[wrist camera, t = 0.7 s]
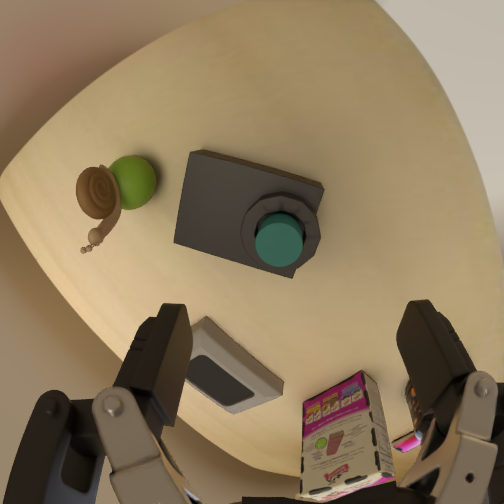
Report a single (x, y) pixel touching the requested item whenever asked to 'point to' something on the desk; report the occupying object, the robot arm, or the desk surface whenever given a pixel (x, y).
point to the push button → (279, 240)
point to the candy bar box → (344, 440)
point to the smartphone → (406, 443)
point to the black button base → (243, 208)
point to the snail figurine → (113, 193)
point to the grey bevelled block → (228, 371)
